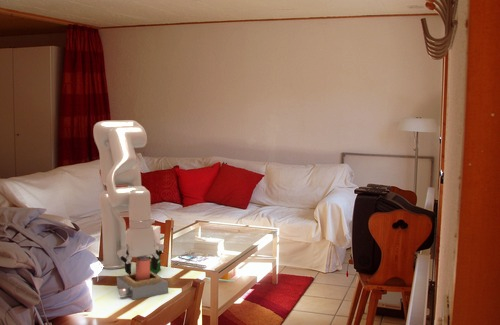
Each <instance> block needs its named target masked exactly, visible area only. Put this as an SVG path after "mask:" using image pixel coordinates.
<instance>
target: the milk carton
mask: <svg viewBox="0 0 500 325" xmlns="http://www.w3.org/2000/svg"><path fill="white" fill-rule="evenodd" d="M152 227H153V230H154V235H155V242H157V243H159V244H161V225H152ZM158 249H159V247H157V246H156V252H157V251H158ZM156 252H155V253H156ZM161 256H162V254H161V255H160V256H159V258H158V267H157V270H154V269H152V257H153V256H152V255H148V256H147V257H149V259H150V271H152V272H153V273H155V274H158V272H159V271H161V268H162V267H161V265H162V258H161ZM137 258H138V257H136V259H137Z"/></svg>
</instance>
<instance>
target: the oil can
mask: <svg viewBox="0 0 500 325" xmlns="http://www.w3.org/2000/svg"><path fill="white" fill-rule="evenodd" d="M135 273H136V278H135V281H140V280H145V279H150V259H149V257H147V255H145V256H142V257H138V258H137V257H136V260H135Z"/></svg>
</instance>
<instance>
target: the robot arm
mask: <svg viewBox="0 0 500 325" xmlns="http://www.w3.org/2000/svg"><path fill="white" fill-rule="evenodd" d="M92 131H93V139H94V143H95V145H96V147H97V150H98V153H99V165H100V178H101V183H102V184H103V185H104V186H106V190H104V191H102V192H101V193H100V194H99V197H98V203H99V204H98V205H99V210H100V216H101V227H102V228H101V229H102V230H101V231H102V232H101V234H102V254H103V256H102V258H103V260H102V261H100V262H101V263H102V264H103V266H104V268H103V269H106V270H107V269H108V270H117V269H123V268H124V272H125V273H126V275H131V274H132V259H133V258H137V257H142V256H145V255H147V256H148V255H152V256H153V257H152V269H154V270H157V267H158V258H159V256H160V255H161V256H162V253H163V250H164V248H165V245H164V244H162V243H160V244H159V243H157V242H155V235H154V230H153V227H152V224H155V219H152V213H151V212H152V211H151V210H152V209H151V193H150V190H148V189H147V188H146V187H145V186H143V185H142V174H141V170H140V167H139V165H138V164H137V163H138V159H137V156H136V155H137V154H136V151H135V149H138V148H145V146H146V144H147V141H148V137H147V136H148V135H147V132H146V130H145V128H144V126H143V125H141V124H140V123H139V122H137V121H136V120H133V119H132V120H131V119H129V120H128V119H125V120H101V121H98V122H96V123H95V124H94V125H93V130H92ZM124 212H128V219H129V220H128V221H129V227H128V228H127V225H126V221H125V218H124V217H122V216H121V215H120V213H124ZM156 246H157V247H159V249H158V251H157V252H156ZM155 252H156V253H155Z"/></svg>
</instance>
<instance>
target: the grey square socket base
mask: <svg viewBox="0 0 500 325" xmlns="http://www.w3.org/2000/svg"><path fill="white" fill-rule="evenodd" d="M135 278H136V272H135V273H131V275H129V274H124V275H119V276H116V288H117V289H118V293H119V296H120V297H124V296H127V297H128V298H130V299H131V300H132V301H135V300H140V299H141V300H142V299H146V298H149V297H154V296H159V295H160V296H161V295H164V294H165V295H166V294H168V293H169V281H168V280H166V279H164V278H163V277H162V276H160V275H158V273H156V274H155V273H153V272H152V271H150V279H145V280H140V281H135Z"/></svg>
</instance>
